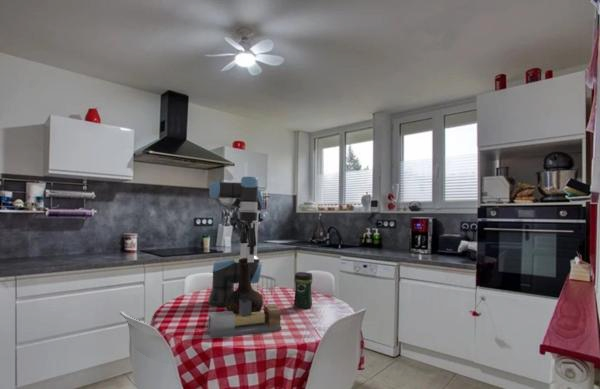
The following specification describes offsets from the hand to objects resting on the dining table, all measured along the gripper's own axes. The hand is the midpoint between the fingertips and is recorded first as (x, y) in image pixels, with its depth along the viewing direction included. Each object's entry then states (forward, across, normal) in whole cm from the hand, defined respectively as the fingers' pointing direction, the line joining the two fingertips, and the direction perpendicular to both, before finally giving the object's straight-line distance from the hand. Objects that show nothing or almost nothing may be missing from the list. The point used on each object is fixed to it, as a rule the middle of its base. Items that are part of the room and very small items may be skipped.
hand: (246, 260), depth 149 cm
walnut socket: (+29, 0, +13) cm, 31 cm away
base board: (+30, 0, 0) cm, 30 cm away
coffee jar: (+30, -24, +38) cm, 54 cm away
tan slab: (+28, 0, -2) cm, 28 cm away
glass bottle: (+30, -18, +4) cm, 36 cm away
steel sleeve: (+29, 0, -10) cm, 30 cm away
